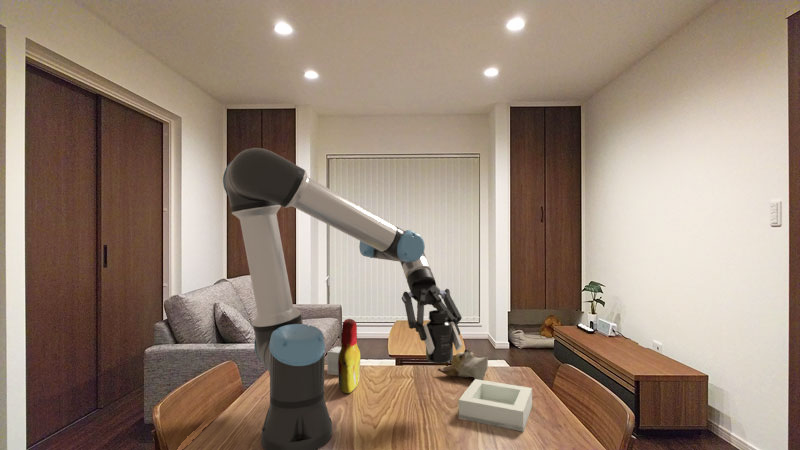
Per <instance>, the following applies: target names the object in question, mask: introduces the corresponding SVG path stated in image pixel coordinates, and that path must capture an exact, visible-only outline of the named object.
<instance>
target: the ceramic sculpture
mask: <svg viewBox="0 0 800 450" xmlns="http://www.w3.org/2000/svg"><path fill="white" fill-rule="evenodd" d="M488 362H489V358H488V357H487V356H485V357H476V356H475V354H474V353H473V352H472V351H471V350H468V349H465V350H463V352H462V351H461V352H458V353H456V354H453V359H452V360H451V361H450V364H451V365H447V366H444V367H443V368H437V371H438V372H440V373H442V374H444V375H447V376H450V377H452V376H453V377H454V376H458V377H461V378H473V379H474V380H475V379H478V380H484V378H485V375H486V372H487V370H488Z"/></svg>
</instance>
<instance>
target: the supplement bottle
mask: <svg viewBox="0 0 800 450" xmlns="http://www.w3.org/2000/svg"><path fill="white" fill-rule="evenodd" d="M428 319H429V321H428V322H426V324H425V325H427V327H428V330H429V333H430V336H431V339H432V342H433V345H434V348H435V349H434V350H433V352H432V354H428V351H427V348H426V347H425V357H426V360H427V362H430V363H434V364H446V363H449V362H450V363H451V361H452V359H453V357H454V343H453V331H452V325H451V323H450V322H448V321H447V320H448V311H444V310H437V309H433V310H430V311H428Z"/></svg>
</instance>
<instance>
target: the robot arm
mask: <svg viewBox="0 0 800 450" xmlns="http://www.w3.org/2000/svg"><path fill="white" fill-rule="evenodd" d="M222 183H223V189H224V191H225V193H226V194H227V196H228V200H229V206H230V210H231V211H230V212H231V215H233V216H235V217H236V218H237V219H239V223H240V228H241V231H242V239H243V243H244V248H245V249H244V250H245V254H246V258H247V264H248V265H247V266H248V271H249V275H250V280H251V286H252V289H253V290H252V291H253V297H254V302H255V306H256V307H255V308H256V312H257V316H256V317H255V319H254V320H253V321H252V325H253V326H252V327H253V331H254V341H253V342H254V350H255V352H254V353H255V355H256V357H257V358H258V361H260V362H261V364H263V366H264V367H265V369H266V370H267V371H268V372H269V406H268V409H267V413H266V416H265V420H264V423H263V425H262V428H261V433H260V438H261V439H260V445H261V447H262V449H264V450H319V449H321V447H324V446H325V445H326V444H327V443H328V442H329V441H330V440H331V438H332V436H333V421H332V419H331V416H330V413H329V410H328V407H327V403H326V400H325V355H326V354H325V351H326V342H325V336H324V332H323V331H322V330H321V329H320V328H318V327H316V326H314V325H308V324H305V323H304V324H303V318H302V312H301V310H300V309H298V308H296V307H295V306H294V304H293V298H292V293H291V288H290V286H291V285H290V281H289V277H288V276H289V275H288V271H287V266H286V259H285V255H284V249H283V244H282V238H281V233H280V227H279V221H278V216H277V214H278V212H279V210H280V209H281V207H283V208H285V209H287V208H289V207H290V208H291V207H293V208H295V209H297V210H298V211H301V212H303V213H304V214H307V215H308V216H311V217H312V218H313V219H317V220H318V221H320V222H323V223H325V224H327V225H328V226H330V227H332V228H334V229H336V230H338V231H340V232H342V233H344V234H345V235H348V236H350V237H351V238H353V239H355V240H357V241H359V246H358V247H359V252H360V254H361V255H362V256H363V257H366V258H370V259H379V260H386V261H393V262H399V263H400V264H401V267H402V270H403V273H404V274H403V275H404V276H405V279H406V282H407V286H408V287H409V288H408V289H409V291H410V292H408V291H404V292H403V293H402V295H401V301H402V303H404V307H405V313H406V319H407V324H408V328H409V329H411V330H413V329H415V331H416V332H417V333H418V335H419V339H420V340H421V342H424V344H425V349H426V348H427V351H428V354H432V352H433V350H434V349H435V348H434V345H433V342H432V339H431V336H430V333H429V330H428V327H427V325H426V324H424V316H425V306H427V305H429V306H432V307H433V308H434V309H435V310H444V311H448V320H447V321H448V322H450V323H451V325H452V331H453V347H454V348H455V351H456V352H458V351H460V350H461V348H462V346H463V342H462V340H461V337H460V335H461V330H460V328H459V324H460V322H461V320H462V318H463V317H462V315H461V313H460V311H459V309H458V307H457V305H456V304H455V301H454V300H453V298H452V296H451V291H450V289H448V288H446V289H445V290H443V289H440V288H439V287H438V285H437V283H436V279H435V277H434V274H433V272H432V269H431V267H430V264H429V262H428V259H427V257H426V254H425V250H426V249H425V245H426V244H425V241H424V238H423V237H422V236H421V235H420V234H419V233H416V232H414V231H413V230H412V229H411V230H410V229H406V230H404V229H402V228H400V227H399V226H396V225H395V224H392V223H391V222H389V221H387V220H385V219H383V218H382V217H380V216H378V215H377V214H375V213H373V212H371V211H370V210H368V209H366V208H364V207H362V206H361V205H359V204H357V203H355V202H353V201H352V200H350V199H348V198H346V197H345V196H342V195H341V194H340V193H337V192H336V191H333V190H332V189H330V188H328V187H327V186H325V185H323V184H321V183H319V182H317V181H316V180H314V179H313V178H311V177H309V175H308V173H307V170H306V169H304V168H302V167H300V166H299V165H297V164H295V163H293V162H292V161H290V160H288V159H286V158H284V157H283V156H281V155H279V154H277V153H275V152H273V151H271V150H269V149H265V148H261V147H252V148H247V149H244V150H242V151H240V152H239V153H238V154H237V155H236V156H235V157H234V159H233V160H232V161H230V162H229V163H228V165H227V166H226V167H225V169H224V173H223V178H222ZM412 299H413V300H414V301H416V303H417V305H416V309H417V310H416V316H415V310H414V305H413V301H412Z"/></svg>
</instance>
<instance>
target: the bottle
mask: <svg viewBox="0 0 800 450" xmlns="http://www.w3.org/2000/svg"><path fill="white" fill-rule="evenodd" d="M357 327H358V325H357V322H356V320H355V319H352V318H347V319H344V321H343V322H342V327H341V341H340V342H341V343H340V344H341V346H340V347H341V350H340V353H339V357H338V374H339V375H338V385H339V389H340V390H341V392H342V393H345V394H351V393H352V392H353V391H354V390H355V389H356V388H357V386H358V385H359V382H360V379H361V375H360V374H361V373H360V372H361V351H360V348H359V347H358V332H357V331H358V328H357Z"/></svg>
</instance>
